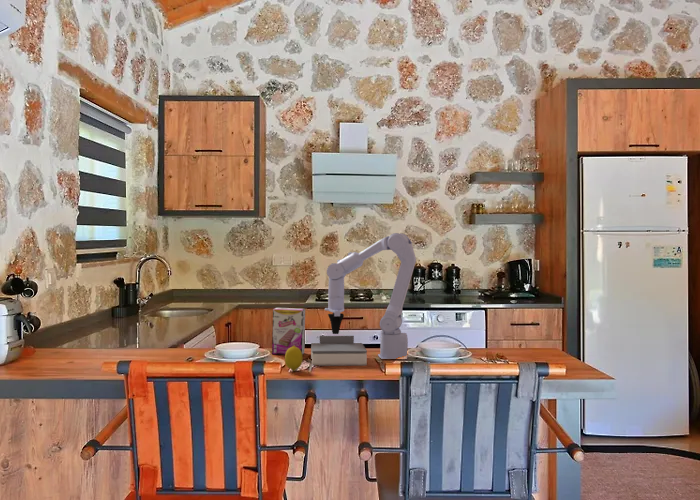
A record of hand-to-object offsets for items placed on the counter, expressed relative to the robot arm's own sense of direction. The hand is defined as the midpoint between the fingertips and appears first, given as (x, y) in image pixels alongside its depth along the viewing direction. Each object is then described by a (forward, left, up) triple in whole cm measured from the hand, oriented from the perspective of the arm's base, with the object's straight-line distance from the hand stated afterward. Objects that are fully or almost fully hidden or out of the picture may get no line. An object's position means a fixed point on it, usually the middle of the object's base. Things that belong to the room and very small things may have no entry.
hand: (335, 333), depth 205 cm
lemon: (+15, +27, -8) cm, 31 cm away
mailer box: (0, +13, -7) cm, 14 cm away
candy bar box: (+17, 0, -8) cm, 19 cm away
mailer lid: (0, +13, -3) cm, 13 cm away
